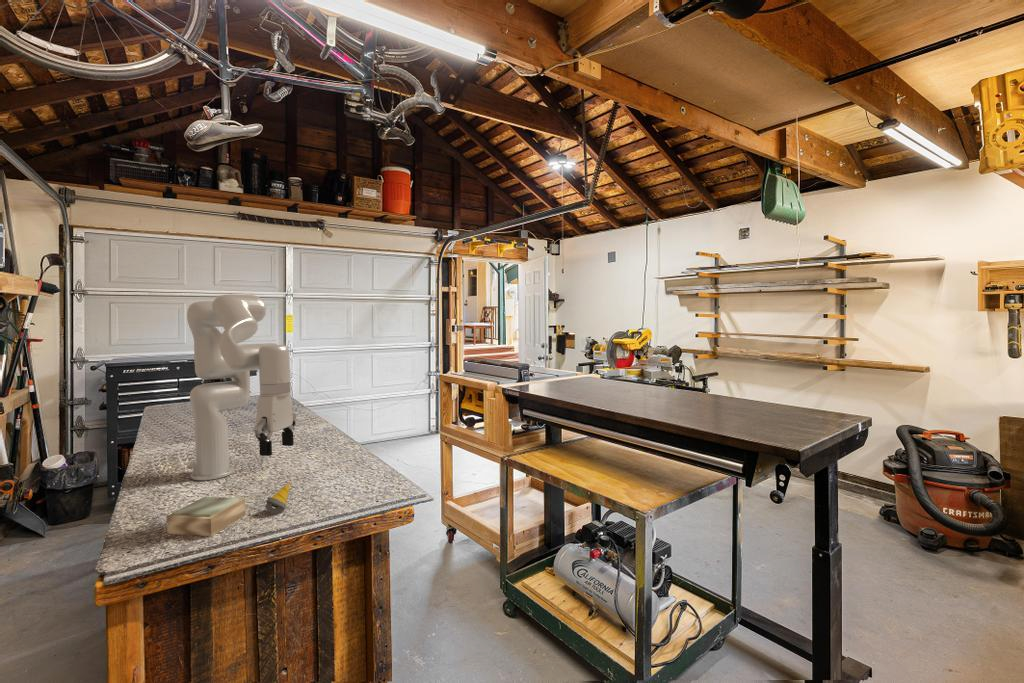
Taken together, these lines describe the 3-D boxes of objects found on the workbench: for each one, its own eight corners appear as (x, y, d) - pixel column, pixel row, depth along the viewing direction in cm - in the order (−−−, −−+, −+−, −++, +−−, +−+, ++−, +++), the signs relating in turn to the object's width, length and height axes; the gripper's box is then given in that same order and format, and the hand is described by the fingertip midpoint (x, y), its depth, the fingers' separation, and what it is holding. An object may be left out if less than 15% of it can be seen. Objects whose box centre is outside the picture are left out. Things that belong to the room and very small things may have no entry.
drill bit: (260, 514, 125) (281, 481, 131) (279, 521, 125) (299, 488, 132) (259, 508, 121) (281, 475, 127) (278, 516, 121) (298, 482, 128)
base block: (167, 533, 113) (166, 513, 112) (205, 512, 124) (204, 495, 124) (211, 536, 111) (210, 516, 111) (245, 514, 123) (244, 497, 123)
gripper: (281, 384, 133) (283, 441, 134) (240, 394, 116) (243, 459, 117) (305, 385, 133) (307, 442, 133) (267, 394, 115) (269, 460, 116)
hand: (277, 450), depth 125 cm, fingers open, 9 cm apart
